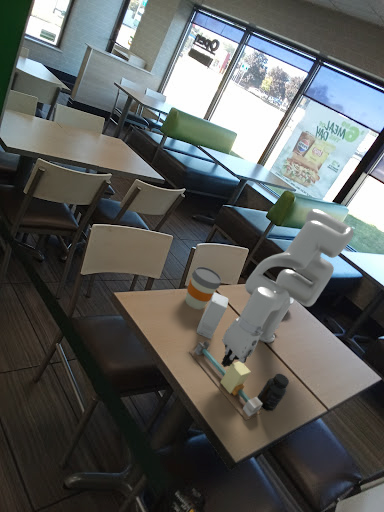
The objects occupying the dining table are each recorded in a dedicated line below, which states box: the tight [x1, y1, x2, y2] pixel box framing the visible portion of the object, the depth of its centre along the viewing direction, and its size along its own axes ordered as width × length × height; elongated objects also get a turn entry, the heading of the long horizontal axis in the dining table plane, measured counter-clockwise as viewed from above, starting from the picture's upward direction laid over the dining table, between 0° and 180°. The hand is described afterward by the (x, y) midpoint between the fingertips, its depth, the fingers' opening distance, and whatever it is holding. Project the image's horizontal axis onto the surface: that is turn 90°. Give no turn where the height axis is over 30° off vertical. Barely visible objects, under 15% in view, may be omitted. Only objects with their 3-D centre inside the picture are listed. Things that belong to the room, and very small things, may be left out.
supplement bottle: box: [256, 372, 290, 412], centre depth 128 cm, size 7×7×12 cm
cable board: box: [188, 340, 262, 421], centre depth 131 cm, size 8×30×5 cm, turn 40°
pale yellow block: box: [220, 360, 251, 393], centre depth 128 cm, size 5×5×8 cm
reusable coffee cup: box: [184, 265, 223, 310], centre depth 164 cm, size 13×13×15 cm
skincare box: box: [196, 292, 229, 340], centre depth 149 cm, size 8×7×16 cm
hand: (225, 364), depth 129 cm, fingers closed
